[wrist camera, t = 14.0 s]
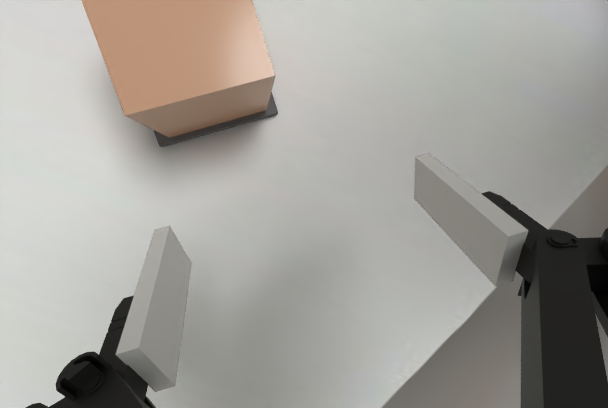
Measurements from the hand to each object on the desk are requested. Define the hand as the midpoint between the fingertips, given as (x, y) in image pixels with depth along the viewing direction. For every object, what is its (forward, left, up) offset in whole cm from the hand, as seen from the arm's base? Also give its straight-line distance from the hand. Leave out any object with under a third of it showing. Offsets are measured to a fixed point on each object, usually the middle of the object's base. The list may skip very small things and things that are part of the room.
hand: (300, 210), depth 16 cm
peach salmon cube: (+3, -12, -13) cm, 19 cm away
